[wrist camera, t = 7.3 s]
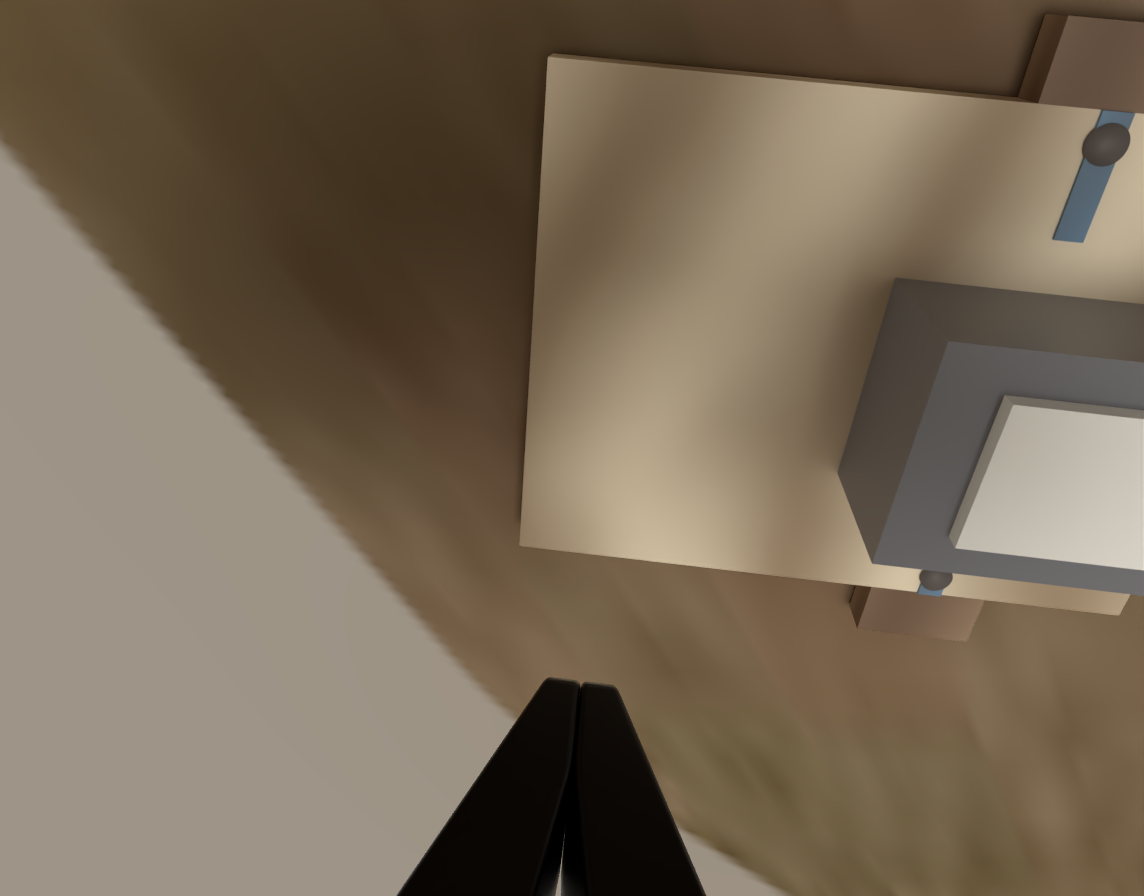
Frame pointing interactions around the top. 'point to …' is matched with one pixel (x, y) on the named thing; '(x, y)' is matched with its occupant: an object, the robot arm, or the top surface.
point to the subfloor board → (795, 293)
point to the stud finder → (1003, 437)
